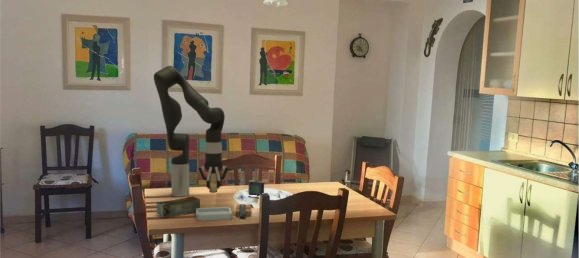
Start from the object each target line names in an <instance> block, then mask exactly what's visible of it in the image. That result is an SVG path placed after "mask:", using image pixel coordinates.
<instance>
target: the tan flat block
mask: <svg viewBox="0 0 579 258" xmlns="http://www.w3.org/2000/svg"><path fill="white" fill-rule="evenodd" d="M239 205H240V204H236V205H235V206H236V207H235V218H239ZM245 205H246V218H250V217H251V218H252V206H251V204H245Z"/></svg>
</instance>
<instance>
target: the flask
mask: <svg viewBox="0 0 579 258" xmlns="http://www.w3.org/2000/svg"><path fill="white" fill-rule="evenodd" d="M262 193H264V194H265V182H264V181H262V180H259V177H256V178H254V180H248V193H247V195H248V194H249V195H257V196H259V195H260V194H262Z"/></svg>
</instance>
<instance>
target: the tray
mask: <svg viewBox="0 0 579 258" xmlns="http://www.w3.org/2000/svg"><path fill="white" fill-rule="evenodd" d="M232 218H233V214H232V208H231V206H227V207H225V206H224V207H223V206H221V207H200V208H196V212H195V221H196V220H202V221H221V220H222V221H224V220H227V221H228V220H233V219H232Z"/></svg>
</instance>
